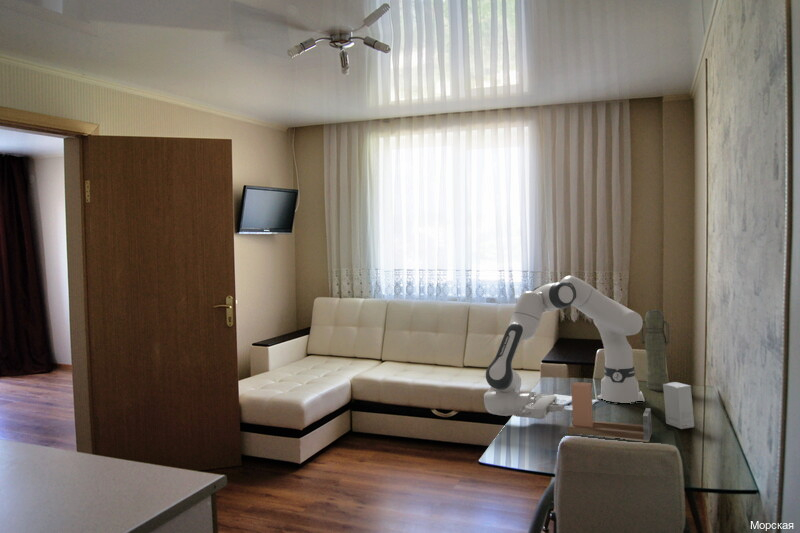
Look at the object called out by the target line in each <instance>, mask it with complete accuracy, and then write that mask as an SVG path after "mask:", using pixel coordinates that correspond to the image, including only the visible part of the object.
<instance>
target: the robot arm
mask: <svg viewBox="0 0 800 533" xmlns="http://www.w3.org/2000/svg"><path fill="white" fill-rule="evenodd" d="M517 299H518V300H517V302H516V304H515V306H514V308H513V312H512V315H511V318H510V321H509V324H508V326H507V328H506V330H505V333H504V335H503V338H502V340H501V343H500V345H499V346H498V349H497V353H496V355H495V357H494V359H493V360H492V361H491V362H490V364H489V365H488V366H487V369H486V371H485V379H486V382H487V384H488V385H489V386H490V387H489V389H488V390H487V391H486V392H485V393H484V394H483V405H484V408H485V410H486V411H487V412H488V413H489V414H492V415H497V416H505V417H508V416H514V417H517V418H527V419H529V418H530V419H536V420H537V419H538V420H540V419H541V420H542V419H545V418H546V417H547V416H548V415H549V414H550V413H554V412H563V411H565V410H564V408H565V407H564V405H563V404H558V403H557V397H556V396H554V394H548V393H547V394H546V393H537V391H528V392H520V391H521V387H522V378H521V376H520V375H519V374H518V372H517V371H516V370H515V369H513V361H514V358H515V356H516V353H517V352H518V351H517V350H518V347H519V345H520V344H521V343H522V342H523V341H528V340H531V339H533V337H535V335H536V333H537V332H538V330H539V326H540V324H541V319H542V315H543V313H544V312H554V311H557V310H558V311H559V310H563V309H567V308H568V307H570V306H572V307H573V308H575V309H576V310H578V311H579V312H581V313H582V314H584V315H585V316H587V317H588V318H590V319H591V320H592V322H593V324H594V326H595V327H596V328H597V330H598V332H599V335H600V337H601V342H602V344H603V345H602V346H603V351H604V366H603V367H604V369H603V371H604V376H603V378H601V381H600V387H601V388H600V394H599V395H597V399H596V400H601V399H603V400H602V401H604V400H606V401H612V402H620V403H630V404H632V403H631V402H635V401H643V402H642V403H644V402H646V401H645V399H646V398H645V397H644V394H643V392H642V391H641V389H640V387H639V381H638V379H637V378H636V376H635V375H636V369H635V366H634V357H633V355H634V353H633V347H632V346H631V344H630V343H629V341H628V338H627V337H628V336H634V335H637V334H639V332H641V328H642V325H643V326H644V323H643V321H644V320H643V318H642V316H641V315H640V314H639V313H638V312H637V311H635V310H632V309H630V308H628V307H626V306H625V305H623V304H621V303H619V302H618V301H616V300H614V299H612V298H610V297H608V296H606V295H604V294H603V293H602V292H601V291H599V290H598V289H597V288H595V287H593V285H590V284H589V283H588V282H587V281H584V280H582V279H581V278H579V277H576V276H574V275H566V276H564V277H563V278H561V280H560V281H556V282H549V283H546V284H544V285H540V286H537V287H535V288H534V289H533V290H526V291H523V292H522V293H521V294H520V295H519V297H518V298H517ZM606 401H605V402H606Z"/></svg>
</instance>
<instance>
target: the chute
mask: <svg viewBox="0 0 800 533" xmlns="http://www.w3.org/2000/svg"><path fill="white" fill-rule="evenodd" d="M651 410H652V409H651V408H649V407H645V410H644V412H643V415H642V424H639V423H638V424H637V423H636V424H634V423H625V422H624V423H623V422H614V421H603V420H602V421H599V420H593V427H583V426H573V419H572V421H571V422H572V425H570V424H569V425H567V426H566V428H567V429H566V430H567V435H570V436H571V435H573V434H582V435H593V436H600V437H599V438H603V437H605V438H606V439H612V440H613V439H615V438H620V439H619V440H623V439H625V441H626V440H627V441H636V442H637V441H638V442H646V443H649V442H650V438H651V437H652V436H651V435H652V434H653V433H652V432H653V431H652V411H651ZM582 435H581V436H582ZM615 440H616V439H615Z"/></svg>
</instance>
